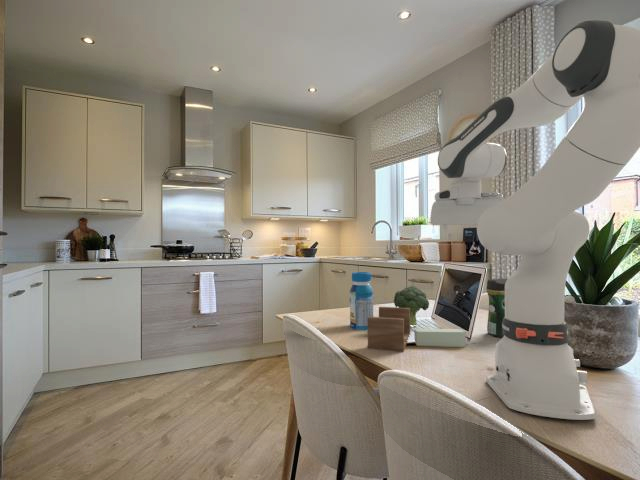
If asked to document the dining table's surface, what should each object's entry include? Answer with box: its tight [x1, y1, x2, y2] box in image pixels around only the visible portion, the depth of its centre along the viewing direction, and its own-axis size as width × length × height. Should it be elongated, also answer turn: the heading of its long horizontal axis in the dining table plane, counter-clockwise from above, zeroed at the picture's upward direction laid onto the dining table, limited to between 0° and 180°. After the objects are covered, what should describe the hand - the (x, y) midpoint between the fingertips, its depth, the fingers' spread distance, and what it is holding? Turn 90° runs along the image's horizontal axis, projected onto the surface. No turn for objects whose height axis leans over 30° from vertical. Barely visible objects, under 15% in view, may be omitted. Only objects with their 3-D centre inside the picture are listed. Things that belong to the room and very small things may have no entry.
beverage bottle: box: [349, 271, 375, 331], centre depth 133 cm, size 8×8×20 cm
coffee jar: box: [486, 277, 508, 338], centre depth 124 cm, size 10×8×19 cm
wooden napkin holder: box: [367, 306, 411, 353], centre depth 116 cm, size 20×10×9 cm, turn 161°
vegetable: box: [393, 285, 430, 326], centre depth 135 cm, size 12×13×15 cm
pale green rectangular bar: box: [413, 328, 467, 348], centre depth 112 cm, size 14×4×4 cm, turn 86°
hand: (465, 240), depth 113 cm, fingers open, 8 cm apart
